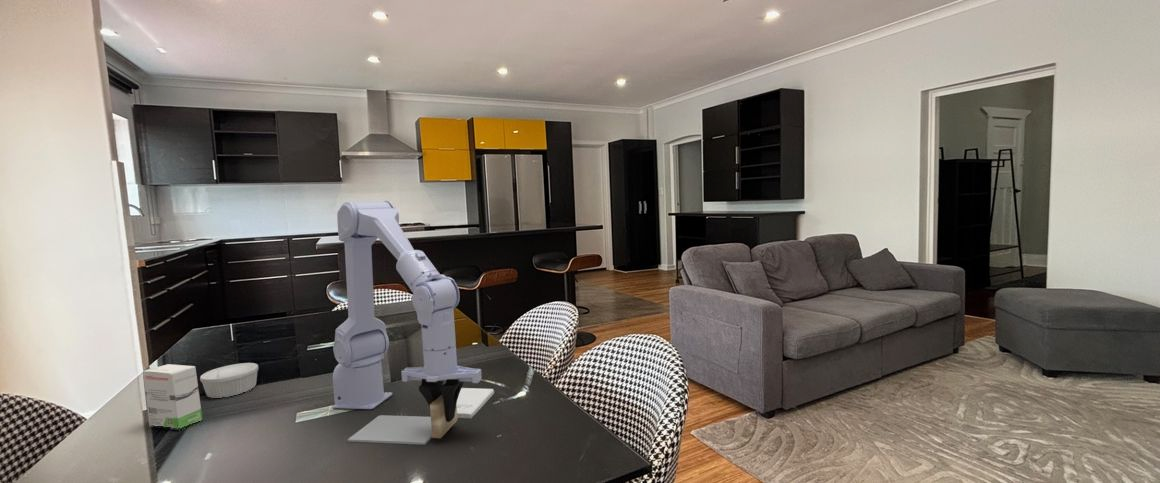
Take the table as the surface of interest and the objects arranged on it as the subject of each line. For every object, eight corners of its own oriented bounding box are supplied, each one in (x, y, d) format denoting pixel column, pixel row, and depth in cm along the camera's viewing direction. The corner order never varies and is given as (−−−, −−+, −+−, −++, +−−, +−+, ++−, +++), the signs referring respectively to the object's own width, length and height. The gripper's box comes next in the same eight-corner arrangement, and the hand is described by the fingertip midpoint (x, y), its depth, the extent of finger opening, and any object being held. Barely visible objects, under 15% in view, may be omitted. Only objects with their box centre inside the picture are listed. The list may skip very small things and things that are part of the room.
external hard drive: (494, 396, 107) (471, 421, 95) (459, 394, 109) (432, 419, 97) (494, 388, 107) (470, 413, 95) (459, 387, 109) (432, 411, 97)
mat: (347, 441, 88) (347, 439, 88) (379, 417, 98) (379, 415, 98) (425, 444, 85) (424, 442, 85) (449, 419, 95) (449, 417, 95)
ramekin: (191, 398, 113) (188, 376, 113) (240, 381, 124) (238, 360, 123) (222, 403, 109) (220, 380, 109) (270, 385, 119) (268, 364, 119)
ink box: (203, 421, 100) (197, 365, 99) (177, 432, 95) (170, 373, 94) (174, 417, 103) (168, 362, 102) (147, 428, 98) (140, 370, 97)
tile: (431, 437, 86) (429, 404, 85) (448, 419, 92) (446, 389, 92) (440, 438, 85) (438, 404, 85) (457, 420, 92) (455, 389, 92)
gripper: (390, 352, 85) (395, 427, 86) (468, 353, 82) (473, 431, 84) (410, 341, 92) (415, 410, 93) (483, 341, 89) (488, 413, 90)
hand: (444, 419), depth 89 cm, fingers closed on tile, 2 cm apart
